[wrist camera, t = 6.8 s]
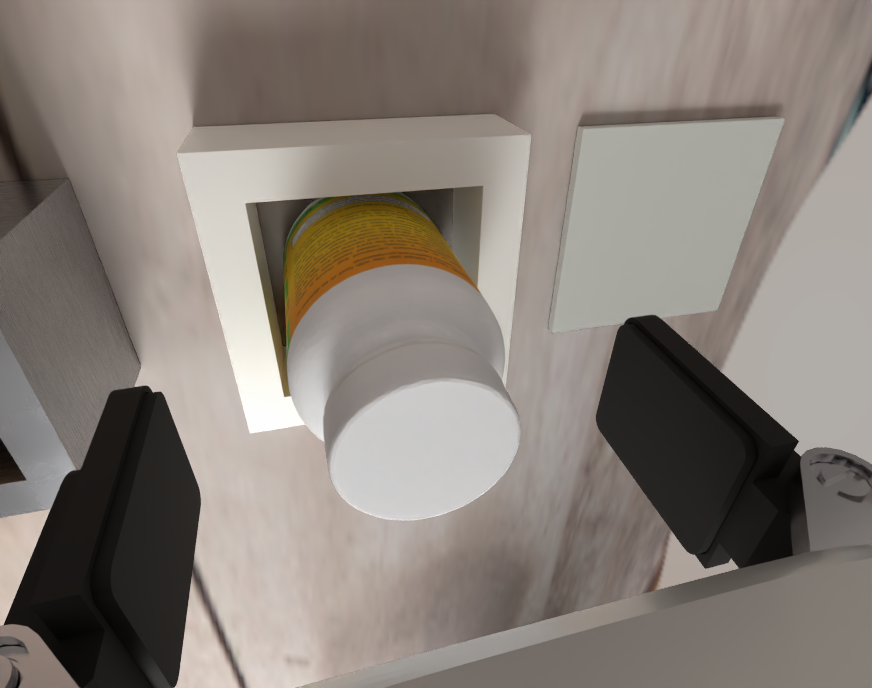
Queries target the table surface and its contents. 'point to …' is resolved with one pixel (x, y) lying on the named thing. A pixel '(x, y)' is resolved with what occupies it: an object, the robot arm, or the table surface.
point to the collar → (343, 176)
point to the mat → (656, 217)
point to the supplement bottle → (394, 358)
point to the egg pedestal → (52, 342)
